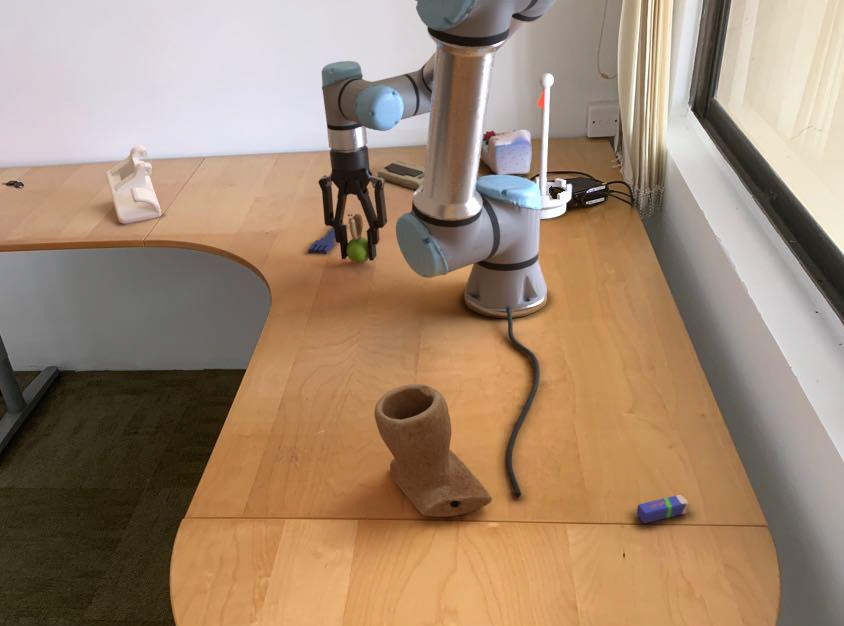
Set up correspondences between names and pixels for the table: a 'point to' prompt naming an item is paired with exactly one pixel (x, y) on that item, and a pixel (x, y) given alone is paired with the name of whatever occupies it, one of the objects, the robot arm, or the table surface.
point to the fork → (323, 243)
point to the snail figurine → (357, 241)
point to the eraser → (662, 508)
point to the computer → (403, 174)
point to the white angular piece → (133, 188)
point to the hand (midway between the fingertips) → (359, 257)
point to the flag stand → (547, 202)
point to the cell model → (507, 152)
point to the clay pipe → (426, 452)
